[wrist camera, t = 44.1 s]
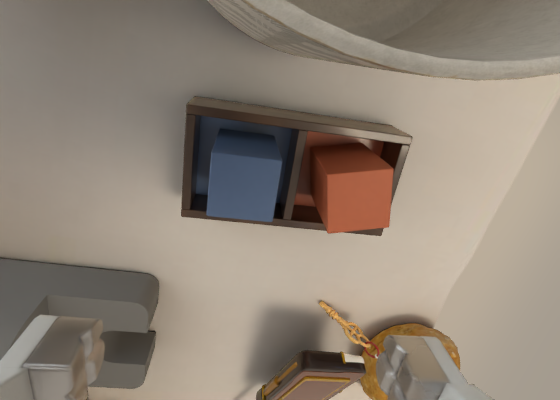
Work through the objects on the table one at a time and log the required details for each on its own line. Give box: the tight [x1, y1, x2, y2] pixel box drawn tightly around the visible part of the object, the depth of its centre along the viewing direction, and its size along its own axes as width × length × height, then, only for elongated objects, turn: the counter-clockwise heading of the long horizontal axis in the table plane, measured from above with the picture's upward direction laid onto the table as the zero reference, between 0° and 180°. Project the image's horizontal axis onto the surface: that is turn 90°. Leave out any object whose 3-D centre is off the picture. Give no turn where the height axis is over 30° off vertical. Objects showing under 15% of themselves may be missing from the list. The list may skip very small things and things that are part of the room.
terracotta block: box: [310, 143, 394, 233], centre depth 23 cm, size 4×4×6 cm
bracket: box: [0, 259, 159, 389], centre depth 25 cm, size 10×18×11 cm, turn 79°
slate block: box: [206, 129, 282, 222], centre depth 22 cm, size 4×4×6 cm
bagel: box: [360, 323, 460, 400], centre depth 34 cm, size 10×11×5 cm
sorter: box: [181, 96, 412, 236], centre depth 25 cm, size 15×8×4 cm, turn 81°
